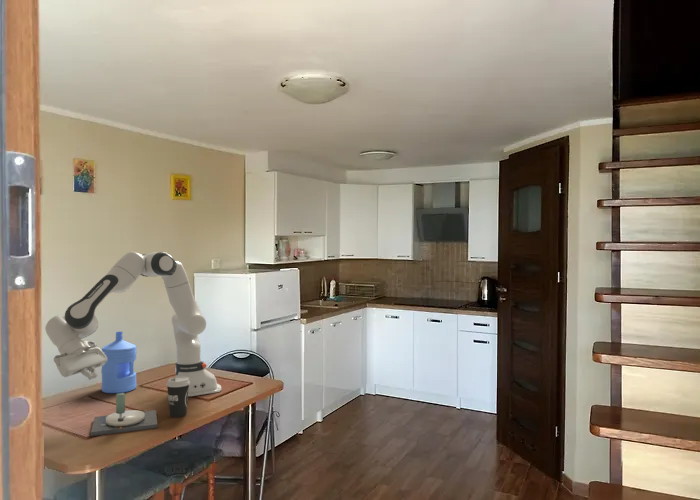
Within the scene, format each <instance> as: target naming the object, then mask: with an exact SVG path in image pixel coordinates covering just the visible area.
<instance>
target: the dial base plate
mask: <svg viewBox="0 0 700 500" xmlns="http://www.w3.org/2000/svg"><path fill="white" fill-rule="evenodd" d="M143 412H144V413H145V418H144V420H143V421H141V422H139V423H136V424H133V425H128V426H110V425H107V424H106V417H107V416H108V415H101V416H94V418H93V421H92V422H93V423H92V426H91V430H90V437H95V436H104V435H112V434H113V435H114V434H119V433H120V434H121V433H122V434H123V433H128V432H135V431H143V430H153V429H158V417H157V409H155V410H154V409H153V410H145V411H144V410H143Z"/></svg>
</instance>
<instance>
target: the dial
mask: <svg viewBox="0 0 700 500" xmlns="http://www.w3.org/2000/svg"><path fill="white" fill-rule="evenodd" d="M106 416H107V417H106V424H107V425H110V426H128V425H133V424H136V423H139V422H141V421H143V420H144V418H145V413H144V411H141V410H137V409H133V410H131V409H130V410H128V409H127V410H126V392H124V393H115V412H112V413H110V414H109V415H106Z"/></svg>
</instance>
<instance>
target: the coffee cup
mask: <svg viewBox="0 0 700 500" xmlns="http://www.w3.org/2000/svg"><path fill="white" fill-rule="evenodd" d="M189 384H190V381H189V380H188V378H187V377H176V376H174V377H170V378H168V379H167V381H166V383H165V386H166V387H167V396H168V397H167V398H168V409H169V417H171V418H174V419H175V418H176V419H177V418H182V417H186V416H187V411H188V401H189V400H188V399H189V396H188V390H189Z"/></svg>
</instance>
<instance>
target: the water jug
mask: <svg viewBox="0 0 700 500" xmlns="http://www.w3.org/2000/svg"><path fill="white" fill-rule="evenodd" d="M123 337H124V335H123V331H115V340H114V341H113V342H110V343H108V344H107V345H104V346H103V347H102V348H101V350H102V351H103V353H104V354H105V355H106V357H107V362H106V363H105V364H104V365H103V366H101V369H100V370H101V373H100V374H101V391H102V392H103V393H105V394H118V393H129V392H131V391H134V390H135V389H136V388H137V373H136V371H134V369H135V368H134V367H135V366H134V364H135V363H134V362H135V361H136V360H137V346H136V344H133V343H131V342H128V341H126V340H124V339H123Z"/></svg>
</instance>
